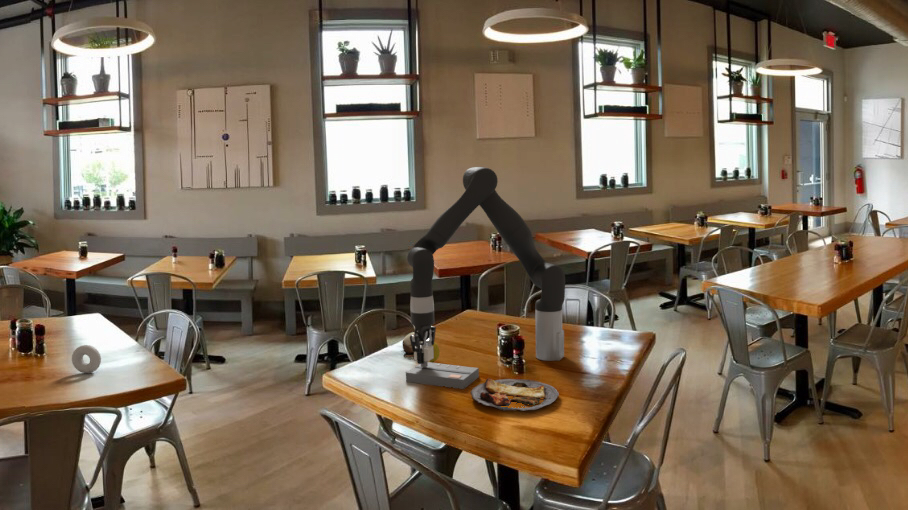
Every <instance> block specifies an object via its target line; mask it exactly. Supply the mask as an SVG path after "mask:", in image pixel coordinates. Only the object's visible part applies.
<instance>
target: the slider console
mask: <svg viewBox="0 0 908 510" xmlns="http://www.w3.org/2000/svg"><path fill="white" fill-rule="evenodd" d="M479 373H480V370H479V367H475V366H474V367H472V366H464V365H463V366H462V365H455V364H446V363H439V362H433V363H431V362H429V361H428V366H427V367H421V364H417V365H416V366H414V367H412V368H410V369H408V370H407V371H406V372H405V382H407V383H413V384H422V385H429V386H437V387H443V386H445V387H446V388H451V387H453V389H458V388H459V389H460V390H464V389H466V388H467V387H468V386H470V385H471V384H472V383H474V382H475V381H476V380H477V379H478V378H479V377H480V374H479ZM445 387H444V388H445Z"/></svg>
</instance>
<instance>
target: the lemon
mask: <svg viewBox="0 0 908 510" xmlns="http://www.w3.org/2000/svg"><path fill="white" fill-rule="evenodd" d="M432 346H433V351H434V358H433V359H431V360H430V361H428V362H431V363H435V361H437V360H438V359H439V357H440V352H441V351H440V347H439V345H438V343H436V342H435V341H434V345H432Z"/></svg>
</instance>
